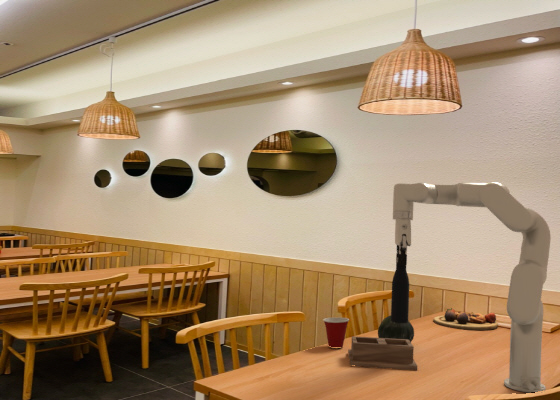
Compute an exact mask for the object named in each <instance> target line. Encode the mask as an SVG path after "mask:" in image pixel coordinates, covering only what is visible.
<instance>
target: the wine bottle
mask: <svg viewBox="0 0 560 400" xmlns="http://www.w3.org/2000/svg"><path fill="white" fill-rule="evenodd" d="M400 246H402V244H401V242H400ZM397 251H398V254H399V246H398V245H396V252H397ZM395 263H396V265H395V271H394V274H393V277H392V281H391V301H390V302H391V305H390V307H391V308H390V315H391V321H392V322H395V323H408V320H409V306H410V305H409V304H410V279H409V275H408V273H407V271H408V270H407V265H398V257H397V262H395Z"/></svg>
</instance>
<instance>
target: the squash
mask: <svg viewBox="0 0 560 400" xmlns="http://www.w3.org/2000/svg"><path fill="white" fill-rule="evenodd" d="M414 336H415V329H414V326H413V325H412V323H411V322H410V320H409V319H408V323H395V322H392V321H391V314H390V315H389V316H386V317H385V318H383V320H382V321H381V322H380V324H379V326H378V328H377V338H391V339H409V341H410V342H411V343H412V341H413V340H414V338H415V337H414Z"/></svg>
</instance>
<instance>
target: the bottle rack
mask: <svg viewBox="0 0 560 400" xmlns="http://www.w3.org/2000/svg"><path fill="white" fill-rule="evenodd" d="M350 344H351V347H350V348H349V349H347V350H348V351H347V353H349V355H348V360H349V359H350V361H349V366H350V365H355V366H365V367H364V368H370V367H377V368H376V369H386V368H392V369H391V370H402V371H403V370H407V371H418V365H417V363H416V361H415V360H414V347H415V346H414V345H413V344H412V341H411V342H410V341H409V339H391V338H378V337H369V336H351V343H350Z"/></svg>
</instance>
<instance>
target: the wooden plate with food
mask: <svg viewBox="0 0 560 400" xmlns="http://www.w3.org/2000/svg"><path fill="white" fill-rule="evenodd" d="M433 322H434V323H435V324H436V325H438V326H443V327H447V328H452V329H459V330H469V331H486V330H487V331H488V330H495V329H497V328H498V327H499V323H498V322H497V316H496V314H495V313H494V312H488V313H486V314H485V315H483V314H482V313H479V312H477V313H472V314H471V313H466V311H458V312H457V313H456V310H455V309H453V307H451V308H447V309H446V310H445V312H444V315H438V316H434V317H433Z"/></svg>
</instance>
